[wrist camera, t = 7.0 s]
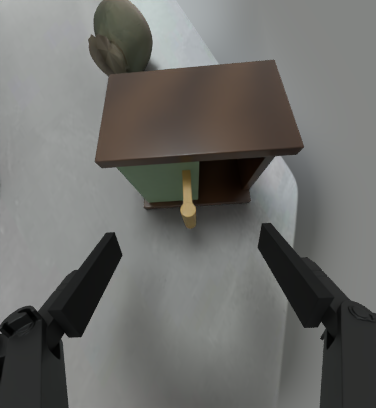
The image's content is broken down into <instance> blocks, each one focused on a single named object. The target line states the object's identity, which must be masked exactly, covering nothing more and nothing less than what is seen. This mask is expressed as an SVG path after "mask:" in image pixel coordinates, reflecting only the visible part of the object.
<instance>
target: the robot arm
mask: <svg viewBox="0 0 376 408" xmlns="http://www.w3.org/2000/svg"><path fill="white" fill-rule="evenodd" d="M258 249H259V251H260V252H261V254H262V256H263V258H264V259H265V261H266V263H267V264H268V266H269V268H270V270H271V271H272V273H273V275H274V277H275V278H276V280H277V282H278V283H279V285H280V287H281V289H282V290H283V292H284V294H285V295H286V297H287V299H288V301H289V302H290V304H291V306H292V307H293V309H294V311H295V312H296V314H297V316H298V318H299V320H300V321H301V323H302V325H303V327H304V328H312V327H313V328H314V327H318V326H319V324H320V323H321V322H322V323H323V325H324V326H325V327H326V329H325V331H324V333H323V334H322V336H321V338H320V339H322V340H323V339H324V349H323V365H322V380H321V396H320V408H376V313H372V312H371V311H370V310H368V309H367V308H366V307H365V306H363V305H361V304H359V303H357V302H354V301H351V300H350V299H349V298H348V297H347V296H346V295H345V294H344V293H343V292H342V291H341V290H340V289H339V288H338V287H337V286H336V284H335V283H334V282H333V281H332V280H331V279H330V278H329V277H327V275H326V274H325V273H324V272H323V271H322V270H321V268H320V267H319V266H318V265H317V264H316V263H315V262H313V261H312V260H310V259H309V258H307V257H305V258H300V257H299V255H298V254H297V253H296V252H295V251H294V250H293V248H292V247H291V246H290V245H289V244H288V243H287V241H286V240H285V239H284V238H283V237H282V236H281V234H280V233H279V232H278V231H277V230H276V229H275V227H274V226H273V225H272V224H271V223H262V225H261V231H260V237H259V243H258ZM121 257H122V252H121V249H120V246H119V244H118V241H117V238H116V235H115V232H111V233H106V234H105V235H104V236H103V238H102V239H101V240H100V242H99V243H98V244H97V246H96V247H95V248H94V250H93V251H92V252H91V254H90V255H89V256H88V258H87V259H86V260H85V261H84V263H83V264H82V265H81V267H80V268H79V269H78V270H74V271H72V272H71V273H70V274H69V275H67V276H66V277H65V279H64V280H63V281H62V282H61V284H60V285H59V286H58V287H57V289H56V291H54V292H53V293H52V295H51V296H50V297H49V298H48V300H47V301H46V302H45V303H44V305H43V306H42V307H41V308H40V310H39V311H38V312H37V311H36V309H35V308H34V307H32V306H25V307H22V308H20V309H18V310H16V311H15V312H13V313H12V314H10V315H9V316H8V317H7V318H6V319H5V320H4V321H3V322H2V323H1V325H0V332H2V334H0V408H69V407H68V396H67V385H66V374H65V363H64V352H63V342H62V340H61V338H62V336H63V334H64V333H65V334H66V335H67V336H68V337H69V338H72V337H82V335H83V333H84V331H85V329H86V327H87V325H88V323H89V321H90V319H91V317H92V315H93V313H94V311H95V309H96V307H97V305H98V303H99V301H100V299H101V297H102V295H103V293H104V291H105V289H106V287H107V285H108V283H109V281H110V279H111V277H112V275H113V273H114V271H115V269H116V267H117V265H118V263H119V261H120V259H121Z"/></svg>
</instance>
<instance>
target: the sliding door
mask: <svg viewBox="0 0 376 408" xmlns="http://www.w3.org/2000/svg"><path fill="white" fill-rule="evenodd" d="M117 169H118V170H119V171H120V172H121V173H122V174H123V175H124V176H125V177H126V179H127V180H128V181H129V182H130V183H131V184H132V185H133V186H134V187H135V188H136V190H137V191H138V192H139V193H140V194H141V195H142V196H143V197H144V198H145V200H146V201H147V202H148V203H150V202H166V201H183V205H182V206H181V208H180V212H181V215H182V218H183V220H184V223H185V226H186V227H187V228H189V229H192V228H194V227H195V226H196V207H195V205H194V204H193V202H192V200H198V188H199V161H198V162H184V163H170V164H155V165H141V166H127V167H117Z"/></svg>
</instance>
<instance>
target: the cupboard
mask: <svg viewBox="0 0 376 408" xmlns="http://www.w3.org/2000/svg"><path fill="white" fill-rule="evenodd" d="M303 148H304V145H303V142H302V139H301V136H300V133H299V130H298V127H297V124H296V122H295V118H294V116H293V112H292V110H291V107H290V104H289V101H288V98H287V95H286V92H285V89H284V86H283V83H282V80H281V77H280V75H279V72H278V69H277V66H276V63H275V60H265V61H255V62H244V63H232V64H221V65H210V66H198V67H187V68H176V69H165V70H154V71H143V72H132V73H121V74H110V75H109V79H108V85H107V91H106V97H105V103H104V109H103V115H102V121H101V127H100V133H99V139H98V145H97V151H96V157H95V163H96V164H98V165H99V166H100V167H101V168H112V167H127V166H141V165H155V164H170V163H184V162H198V161H199V188H198V200H192V202H193V204H194V205H195V206H208V205H225V204H242V203H249V202H250V201H251V198H250V193H249V189H250V188H251V186H252V185H253V184H254V183H255V181H256V180H257V179H258V178H259V176H260V175H261V174H262V173H263V171H264V170H265V169H266V168H267V166H268V165H269V164H270V162H271V161H272V160H273V159H274V157H275V156H284V155H296V154H298V152H300V151H301V150H302V149H303ZM182 205H183V201H166V202H150V203H148V202H147V201H146V200H145V198H144V208H145V209H158V208H175V207H181V206H182Z"/></svg>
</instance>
